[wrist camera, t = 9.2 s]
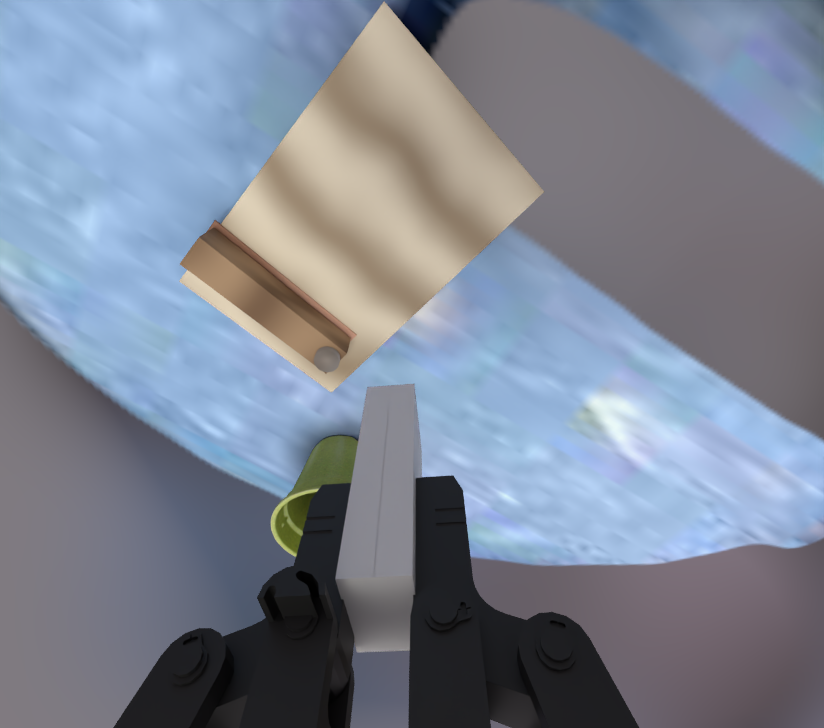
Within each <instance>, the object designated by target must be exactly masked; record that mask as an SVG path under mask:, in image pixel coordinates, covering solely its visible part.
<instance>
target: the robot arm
mask: <svg viewBox="0 0 824 728" xmlns="http://www.w3.org/2000/svg"><path fill="white" fill-rule="evenodd" d="M257 599H258V601H259V603H260V605H261V607H262V609H263V612H264V614H265V616H266V618H265V619H264V620H262V621H261V622H258V623H256V624H254V625H252V626H250V627H247V628H245V629H242V630H239V631H237V632H234V633H231V634H229V635H226V636H223V637H222V636H221V634H220V633H219V632H217V631H215V630H213V629H211V628H199V629H196V630H193V631H190V632H188V633H185V634H184V635H182V636H181V637H180V638H178V639H177V640H175V641H174V642H173V643H172V644H171V645H170V646H169V647H168V648H167V650H166V651H165V652H164V653H163V654H162V655H161V657H160V658H159V660H158V661H157V663H156V664H155V666H154V667H153V669H152V670H151V672H150V673H149V675H148V677H147V678H146V679H145V681H144V682H143V684H142V686H141V687H140V688H139V690H138V692H137V693H136V695H135V696H134V697H133V699H132V701H131V702H130V703H129V705H128V706H127V708H126V709H125V711H124V713H123V714H122V716H121V717H120V719H119V720H118V721H117V723H116V725H115V726H114V728H350V722H351V712H352V702H353V693H354V671H353V668H352V656H353V647H354V643H355V647H356V650H357V652H377V651H378V652H379V651H404V650H410V668H409V669H410V671H409V728H491V724H490V719H491V720H493V721H496V722H498V723H501V724H504V725H506V726H509V727H512V728H639V726H638V725H637V723H636V721H635V719H634V718H633V716H632V714H631V712H630V710H629V708H628V707H627V705H626V703H625V701H624V699H623V698H622V696H621V694H620V692H619V690H618V689H617V687H616V685H615V683H614V681H613V680H612V678H611V676H610V674H609V672H608V671H607V669H606V667H605V666H604V664H603V662H602V660H601V658H600V656H599V654H598V653H597V651H596V649H595V647H594V645H593V644H592V642H591V640H590V638H589V637H588V636H587V634H586V633H585V632H584V630H583V629H582V628H581V627H580V625H578V624H577V623H575V622H574V621H573V620H571V619H570V618H568V617H567V616H564V615H560V614H556V613H553V612H549V613H539V614H537V615H535V616H533V617H531V618H529V619H528V620H524V619H521V618H518V617H514V616H511V615H508V614H505V613H502V612H500V611H497V610H495V609H494V608H492V607H491V606H490V605H488V604H487V603H486V602H485V601H484V600H483V599H482V598H481V597H480V595H479V594H478V592H477V590H476V588H475V585H474V582H473V576H472V567H471V559H470V550H469V541H468V532H467V524H466V514H465V506H464V497H463V490H462V488H461V487H460V485H459V484H458V482H457V481H456V479H455V478H454V476H438V477H422V459H421V441H420V432H419V423H418V413H417V404H416V395H415V386H414V384H405V385H391V386H377V387H367V392H366V398H365V404H364V410H363V416H362V422H361V428H360V434H359V440H358V446H357V452H356V458H355V464H354V470H353V476H352V482H351V483H340V484H324V485H322V486H321V487H320V488H319V490H318V491H317V492H316V494H315V495H314V496H313V498H312V499H311V501H310V505H309V509H308V513H307V517H306V521H305V524H304V528H303V535H302V536H301V540H300V544H299V547H298V551H297V555H296V559H295V563H294V566H291V567H287V568H285V569H283V570H282V571H279V572H278V573H276V574H274V575H273V576H272V577H271V578H270V579H269V580H268V581H267V582H266V583H265V584H264V585H263V587H262V589H261V591H260V593H259V595H258V597H257Z"/></svg>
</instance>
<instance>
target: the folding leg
mask: <svg viewBox="0 0 824 728" xmlns="http://www.w3.org/2000/svg"><path fill="white" fill-rule="evenodd" d="M180 265H182V266H183V267H184V268H186V269H187V270H188V271H190V272H191V273H192V274H194V275H195V276H196V277H198V278H199V279H200V280H202V281H203V282H204V283H206V284H207V285H208V286H210V287H211V288H212V289H214V290H215V291H216V292H218V293H219V294H220V295H222V296H223V297H224V298H226V299H227V300H228V301H230V302H231V303H232V304H234V305H235V306H236V307H238V308H239V309H240V310H242V311H243V312H244V313H246V314H247V315H248V316H250V317H251V318H252V319H254V320H255V321H256V322H258V323H259V324H260V325H262V326H263V327H264V328H266V329H267V330H268V331H270V332H271V333H272V334H274V335H275V336H276V337H278V338H279V339H280V340H282V341H283V342H284V343H286V344H287V345H288V346H290V347H291V348H292V349H294V350H295V351H296V352H298V353H299V354H300V355H302V356H303V357H304V358H306V359H307V360H308V361H310V362H311V363H312V364H314V365H315V366H316V367H317V368H318V369H319V370H321V371H323V372H324V373H326V374H327V373H328V372H332V371H334V370H336V369H337V368H338V366H339V362H340V360H341V359H342V358H343V357H344V356H345V355H346V354H347V352H348V348H349V344H350V340H351V338H350V337H349V336H348V335H346V334H345V333H344V332H343V331H342V330H340V329H339V328H338V327H337V326H335V325H334V324H333V323H332V322H330V321H329V320H328V319H327V318H325V317H324V316H323V315H322V314H320V313H319V312H318V311H317V310H316V309H314V308H313V307H312V306H311V305H309V304H308V303H307V302H306V301H304V300H303V299H302V298H301V297H299V296H298V295H297V294H296V293H294V292H293V291H292V290H291V289H289V288H288V287H287V286H286V285H285V284H283V283H282V282H281V281H280V280H278V279H277V278H276V277H275V276H273V275H272V274H271V273H270V272H268V271H267V270H266V269H265V268H263V267H262V266H261V265H260V264H258V263H257V262H256V261H255V260H254V259H252V258H251V257H250V256H249V255H247V254H246V253H245V252H244V251H242V250H241V249H240V248H239V247H237V246H236V245H235V244H234V243H232V242H231V241H230V240H229V239H228V238H226V237H225V236H224V235H223V234H221V233H220V232H219V231H218V230H216V229H215V228H214V227H213V228H212V229H210V230H209V231H208V232H206V233H205V234H203V235H202V236H200V237H199V238H198V239H197V241H196V242H195V244H194V245H193V246H192V248H191V249H190V250H189V252H188V253H187V255H186V256H185V257H184V259H183V260H182V261H181V263H180Z"/></svg>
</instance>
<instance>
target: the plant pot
mask: <svg viewBox="0 0 824 728" xmlns="http://www.w3.org/2000/svg"><path fill="white" fill-rule="evenodd" d="M357 446H358V441H357V440H356V439H354V438H353V437H349V436H341V435H339V436H331V437H328V438H325V439H323V440H322V441H320V442H319V443H318V444H317V445H316V446H315V448H314V449H313V450H312V452H311V454H310V456H309V458H308V460H307V462H306V465H305V467H304V469H303V470H302V472H301V474H300V476H299V478H298V480H297V482H296V484H295V486H294V488H293V490H292V491H291V492H290V493H289V494H288V495H287V497H285V498H284V499H283V500H282V501H281V502H280V503H279V504H278V505H277V506H276V508H275V510H274V512H273V514H272V517H271V530H272V533H273V535H274V538H275V539H276V541H277V542H278V543H279V544H280V545H281V546H282V547H283V548H284V549H285V550H286V551H287V552H289V553H290V554H292V555H294V556H295V557H296V555H297V551H298V547H299V544H300V540H301V536H302V535H303V528H304V524H305V521H306V517H307V513H308V509H309V505H310V501H311V499H312V498H313V496H314V495H315V494H316V492H317V491H318V490H319V488H320V487H321V486H322V485H324V484H340V483H351V482H352V476H353V470H354V464H355V458H356V452H357Z"/></svg>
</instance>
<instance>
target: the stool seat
mask: <svg viewBox="0 0 824 728" xmlns="http://www.w3.org/2000/svg"><path fill="white" fill-rule="evenodd" d="M543 193H544V191H543V190H542V189H541V188H540V186H539V185H538V184H537V183H536V181H535V180H534V179H533V178H532V177H531V175H530V174H529V173H528V172H527V171H526V170H525V168H524V167H523V166H522V165H521V164H520V162H519V161H518V160H517V159H516V158H515V157H514V155H513V154H512V153H511V152H510V151H509V149H508V148H507V147H506V146H505V145H504V143H503V142H502V141H501V140H500V139H499V137H498V136H497V135H496V134H495V133H494V131H493V130H492V129H491V128H490V127H489V126H488V124H487V123H486V122H485V121H484V120H483V118H482V117H481V116H480V115H479V114H478V112H477V111H476V110H475V109H474V108H473V107H472V105H471V104H470V103H469V102H468V101H467V99H466V98H465V97H464V96H463V95H462V93H461V92H460V91H459V90H458V89H457V87H456V86H455V85H454V84H453V83H452V82H451V80H450V79H449V78H448V77H447V76H446V75H445V73H444V72H443V71H442V70H441V69H440V67H439V66H438V65H437V64H436V62H435V61H434V60H433V59H432V58H431V56H430V55H429V54H428V53H427V52H426V51H425V49H424V48H423V47H422V46H421V45H420V43H419V42H418V41H417V40H416V39H415V37H414V36H413V35H412V34H411V33H410V31H409V30H408V29H407V28H406V27H405V26H404V24H403V23H402V22H401V21H400V20H399V18H398V17H397V16H396V15H395V14H394V12H393V11H392V10H391V9H390V8H389V6H388V5H387V4H386V3H385V2H383V4H382V5H381V6H380V8H379V9H378V10H377V12H376V13H375V15H374V16H373V17H372V19H371V20H370V21H369V23H368V24H367V25H366V27H365V28H364V30H363V31H362V32H361V34H360V35H359V36H358V38H357V39H356V41H355V42H354V43H353V45H352V46H351V47H350V49H349V50H348V51H347V53H346V54H345V56H344V57H343V58H342V60H341V61H340V62H339V64H338V65H337V66H336V68H335V69H334V71H333V72H332V73H331V75H330V76H329V77H328V79H327V80H326V81H325V83H324V84H323V86H322V87H321V88H320V90H319V91H318V92H317V94H316V95H315V96H314V98H313V99H312V101H311V102H310V103H309V105H308V106H307V107H306V109H305V110H304V111H303V113H302V114H301V116H300V117H299V118H298V120H297V121H296V122H295V124H294V125H293V126H292V128H291V129H290V131H289V132H288V133H287V135H286V136H285V137H284V139H283V140H282V141H281V143H280V144H279V146H278V147H277V148H276V150H275V151H274V152H273V154H272V155H271V156H270V158H269V159H268V161H267V162H266V163H265V165H264V166H263V167H262V169H261V170H260V171H259V173H258V174H257V176H256V177H255V178H254V180H253V181H252V182H251V184H250V185H249V186H248V188H247V189H246V191H245V192H244V193H243V195H242V196H241V197H240V199H239V200H238V202H237V203H236V204H235V206H234V207H233V208H232V210H231V211H230V212H229V214H228V215H227V217H226V218H225V219H224V221H223V222H222V223H221V224H220V223H219V222H217V221H216V220H215V221H214V222H213V224H212V225H211V227H210V228H209V229H208V231H209V230H210V229H212V228H213V227H214V228H215V229H216V230H218V231H219V232H220V233H221V234H223V235H224V236H225V237H226V238H228V239H229V240H230V241H231V242H232V243H234V244H235V245H236V246H237V247H239V248H240V249H241V250H242V251H244V252H245V253H246V254H247V255H249V256H250V257H251V258H252V259H254V260H255V261H256V262H257V263H258V264H260V265H261V266H262V267H263V268H265V269H266V270H267V271H268V272H270V273H271V274H272V275H273V276H275V277H276V278H277V279H278V280H280V281H281V282H282V283H283V284H285V285H286V286H287V287H288V288H289V289H291V290H292V291H293V292H294V293H296V294H297V295H298V296H299V297H301V298H302V299H303V300H304V301H306V302H307V303H308V304H309V305H311V306H312V307H313V308H314V309H316V310H317V311H318V312H319V313H320V314H322V315H323V316H324V317H325V318H327V319H328V320H329V321H330V322H332V323H333V324H334V325H335V326H337V327H338V328H339V329H340V330H342V331H343V332H344V333H345V334H346V335H348V336H349V337H350V338H351V340H350V344H349V348H348V352H347V354H346V355H345V356H344V357H343V358H342V359H341V360H340V362H339V366H338V368H337V369H336V370H334V371H332V372H328V373H327V374H326V373H324V372H323V371H321V370H319V369H318V368H317V367H316V366H315V365H314V364H312V363H311V362H310V361H308V360H307V359H306V358H304V357H303V356H302V355H300V354H299V353H298V352H296V351H295V350H294V349H292V348H291V347H290V346H288V345H287V344H286V343H284V342H283V341H282V340H280V339H279V338H278V337H276V336H275V335H274V334H272V333H271V332H270V331H268V330H267V329H266V328H264V327H263V326H262V325H260V324H259V323H258V322H256V321H255V320H254V319H252V318H251V317H250V316H248V315H247V314H246V313H244V312H243V311H242V310H240V309H239V308H238V307H236V306H235V305H234V304H232V303H231V302H230V301H228V300H227V299H226V298H224V297H223V296H222V295H220V294H219V293H218V292H216V291H215V290H214V289H212V288H211V287H210V286H208V285H207V284H206V283H204V282H203V281H202V280H200V279H199V278H198V277H196V276H195V275H194V274H192V273H191V272H190V271H188V270H187V271H186V272H185V274H184V275H183V277H182V278H181V279H180V282H181V283H182V284H184V285H185V286H186V287H188V288H189V289H190V290H192V291H193V292H195V293H196V294H197V295H199V296H200V297H201V298H203V299H204V300H206V301H207V302H208V303H210V304H211V305H212V306H214V307H215V308H216V309H218V310H219V311H221V312H222V313H223V314H225V315H226V316H227V317H229V318H230V319H232V320H233V321H234V322H236V323H237V324H238V325H240V326H241V327H242V328H244V329H245V330H247V331H248V332H249V333H251V334H252V335H253V336H255V337H256V338H258V339H259V340H260V341H262V342H263V343H264V344H266V345H267V346H268V347H270V348H271V349H273V350H274V351H275V352H277V353H278V354H279V355H281V356H282V357H284V358H285V359H286V360H288V361H289V362H290V363H292V364H293V365H294V366H296V367H297V368H299V369H300V370H301V371H303V372H304V373H305V374H307V375H308V376H310V377H311V378H312V379H314V380H315V381H316V382H318V383H319V384H320V385H322V386H323V387H325V388H326V389H327V390H329V391H330V392H333V391H334V390H335V389H336V388H337V387H338V386H339V385H340V384H341V383H342V382H343V381H344V380H345V379H346V378H347V377H348V376H350V375H351V374H352V373H353V372H354V371H355V370H356V369H357V368H358V367H359V366H360V365H361V364H362V363H363V362H364V361H365V360H366V359H368V358H369V357H370V356H371V355H372V354H373V353H374V352H375V351H376V350H377V349H378V348H379V347H380V346H381V345H382V344H383V343H385V342H386V341H387V340H388V339H389V338H390V337H391V336H392V335H393V334H394V333H395V332H396V331H397V330H398V329H399V328H400V327H402V326H403V325H404V324H405V323H406V322H407V321H408V320H409V319H410V318H411V317H412V316H413V315H414V314H415V313H416V312H417V311H418V310H420V309H421V308H422V307H423V306H424V305H425V304H426V303H427V302H428V301H429V300H430V299H431V298H432V297H433V296H434V295H435V294H437V293H438V292H439V291H440V290H441V289H442V288H443V287H444V286H445V285H446V284H447V283H448V282H449V281H450V280H451V279H452V278H453V277H455V276H456V275H457V274H458V273H459V272H460V271H461V270H462V269H463V268H464V267H465V266H466V265H467V264H468V263H469V262H470V261H472V260H473V259H474V258H475V257H476V256H477V255H478V254H479V253H480V252H481V251H482V250H483V249H484V248H485V247H486V246H487V245H489V244H490V243H491V242H492V241H493V240H494V239H495V238H496V237H497V236H498V235H499V234H500V233H501V232H502V231H503V230H504V229H505V228H507V227H508V226H509V225H510V224H511V223H512V222H513V221H514V220H515V219H516V218H517V217H518V216H519V215H520V214H521V213H522V212H524V211H525V209H527V208H528V207H529V206H530V205H531V204H532V203H533V202H534V201H535V200H536V199H537V198H538V197H539V196H540V195H541V194H543ZM208 231H207V232H208Z"/></svg>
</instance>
